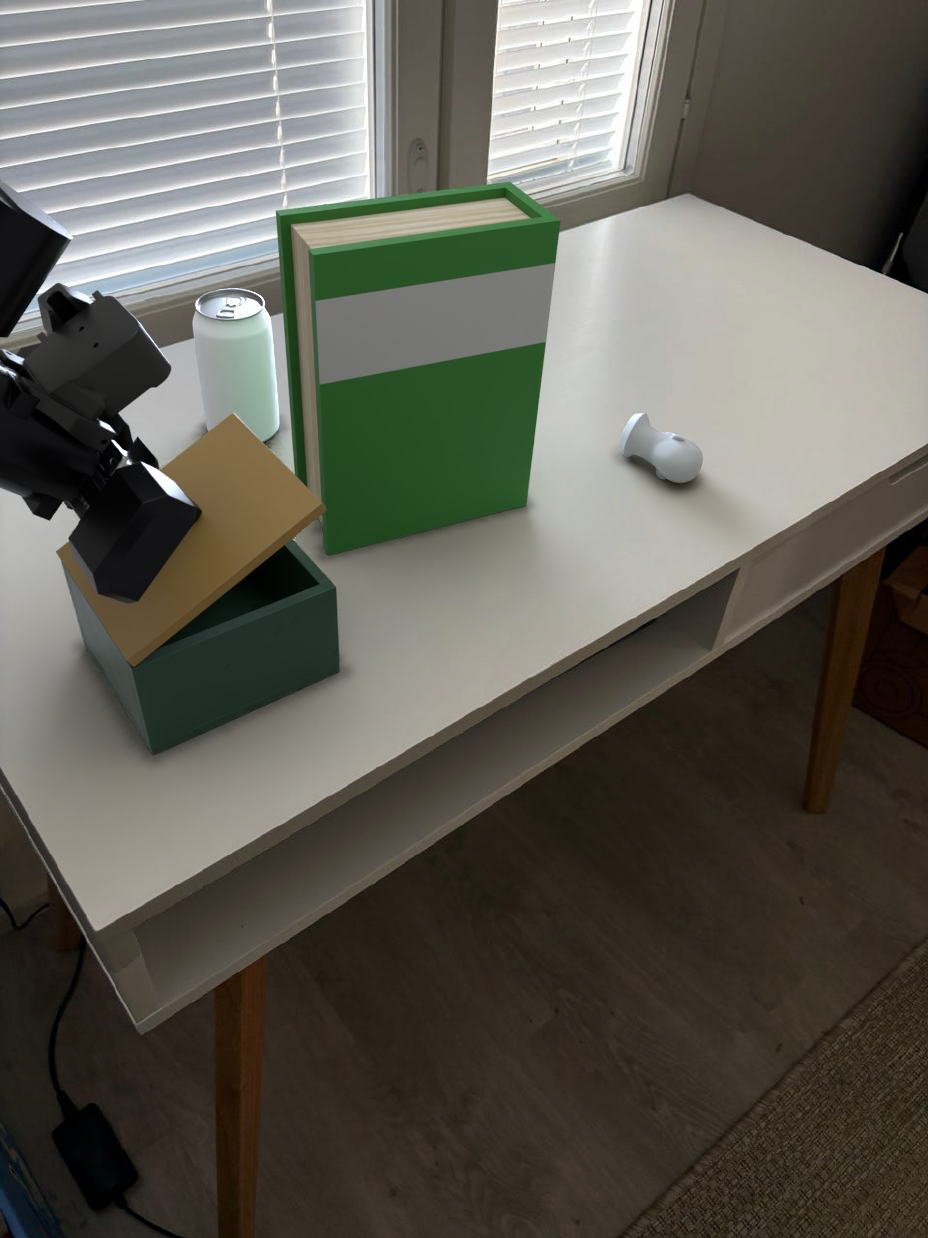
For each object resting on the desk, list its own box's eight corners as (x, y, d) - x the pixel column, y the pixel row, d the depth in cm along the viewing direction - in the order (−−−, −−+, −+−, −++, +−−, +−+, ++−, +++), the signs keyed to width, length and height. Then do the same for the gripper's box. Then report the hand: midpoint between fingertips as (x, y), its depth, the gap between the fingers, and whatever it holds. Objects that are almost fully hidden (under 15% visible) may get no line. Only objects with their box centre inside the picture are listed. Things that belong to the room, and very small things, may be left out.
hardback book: (327, 555, 79) (313, 254, 62) (296, 502, 83) (275, 210, 67) (526, 505, 85) (560, 219, 69) (486, 458, 90) (510, 181, 73)
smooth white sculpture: (703, 491, 90) (670, 496, 86) (639, 448, 94) (605, 450, 91) (725, 448, 88) (691, 451, 84) (658, 405, 92) (623, 406, 88)
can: (287, 413, 93) (278, 289, 85) (270, 452, 88) (258, 325, 80) (218, 406, 93) (202, 282, 85) (197, 444, 89) (178, 317, 81)
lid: (238, 419, 67) (233, 411, 66) (327, 510, 60) (322, 502, 59) (62, 558, 65) (54, 551, 64) (134, 667, 58) (126, 660, 57)
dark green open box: (261, 578, 76) (252, 494, 71) (340, 671, 70) (336, 586, 64) (84, 646, 70) (60, 560, 65) (152, 756, 63) (131, 669, 58)
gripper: (121, 353, 43) (353, 486, 55) (-16, 202, 53) (204, 342, 66) (-19, 561, 44) (236, 644, 57) (-125, 374, 55) (110, 479, 68)
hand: (196, 514), depth 62 cm, fingers closed
